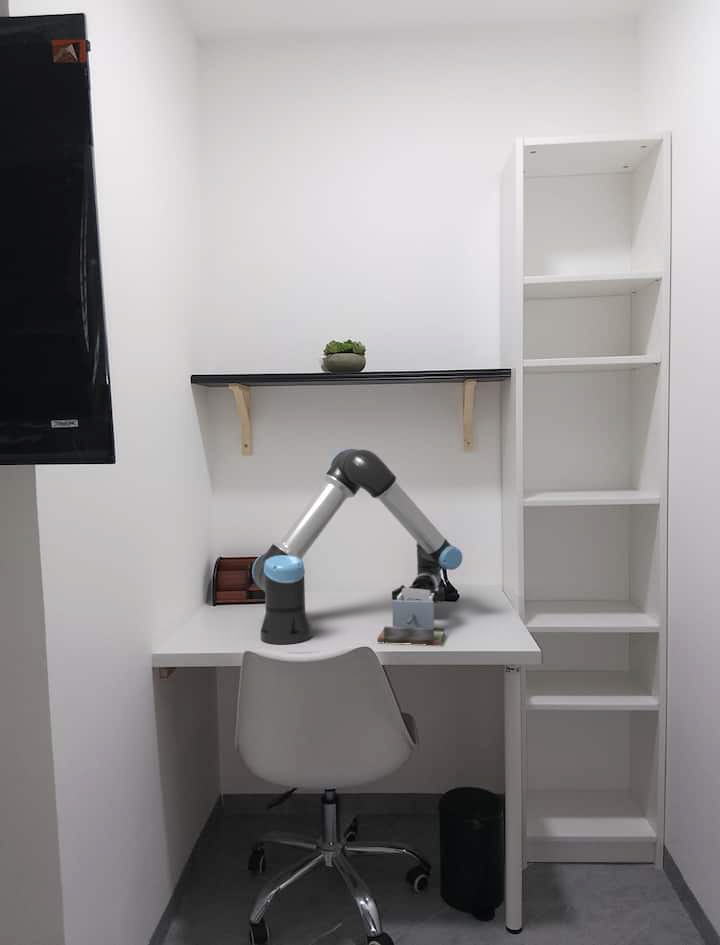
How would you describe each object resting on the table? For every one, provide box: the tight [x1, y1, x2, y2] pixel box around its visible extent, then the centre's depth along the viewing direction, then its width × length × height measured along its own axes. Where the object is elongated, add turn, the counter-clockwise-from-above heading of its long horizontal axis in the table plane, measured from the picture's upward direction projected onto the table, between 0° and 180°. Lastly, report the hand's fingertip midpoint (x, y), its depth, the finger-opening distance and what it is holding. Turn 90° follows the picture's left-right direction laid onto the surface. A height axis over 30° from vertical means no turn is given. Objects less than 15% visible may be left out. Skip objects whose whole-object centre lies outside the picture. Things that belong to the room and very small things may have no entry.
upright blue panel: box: [391, 600, 445, 631], centre depth 207 cm, size 15×8×8 cm, turn 77°
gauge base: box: [376, 626, 446, 646], centre depth 207 cm, size 18×10×4 cm, turn 77°
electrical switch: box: [402, 587, 432, 601], centre depth 217 cm, size 9×5×9 cm, turn 62°
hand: (414, 602), depth 212 cm, fingers closed on electrical switch, 9 cm apart
